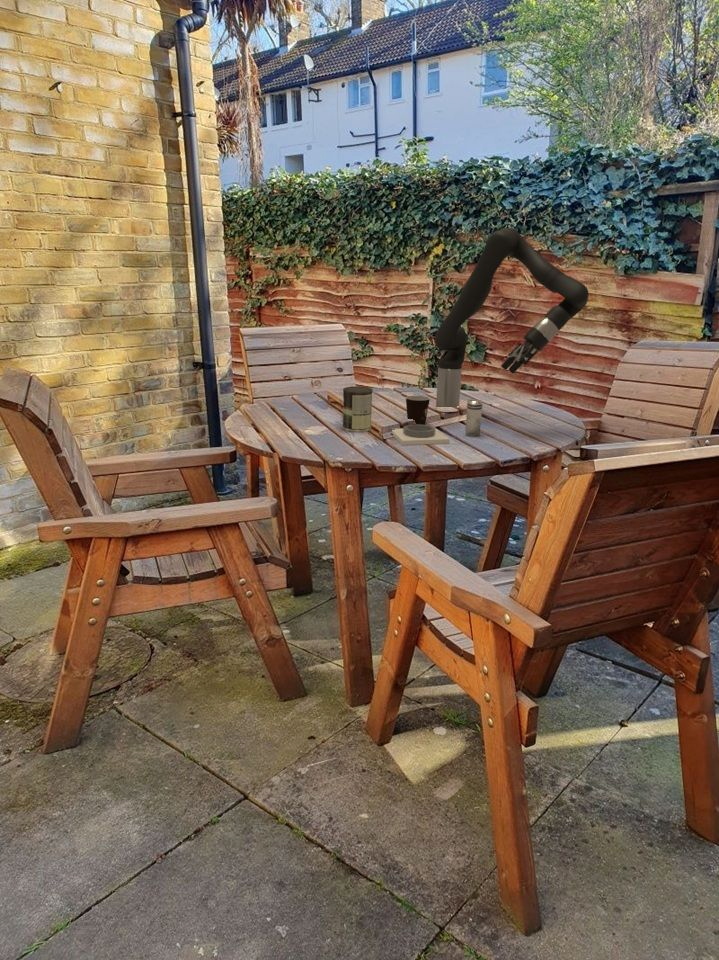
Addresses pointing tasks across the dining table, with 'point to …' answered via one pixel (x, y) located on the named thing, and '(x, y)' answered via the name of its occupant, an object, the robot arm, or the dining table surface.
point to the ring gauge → (419, 435)
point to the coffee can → (357, 409)
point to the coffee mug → (417, 408)
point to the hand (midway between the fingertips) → (506, 369)
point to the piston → (473, 417)
